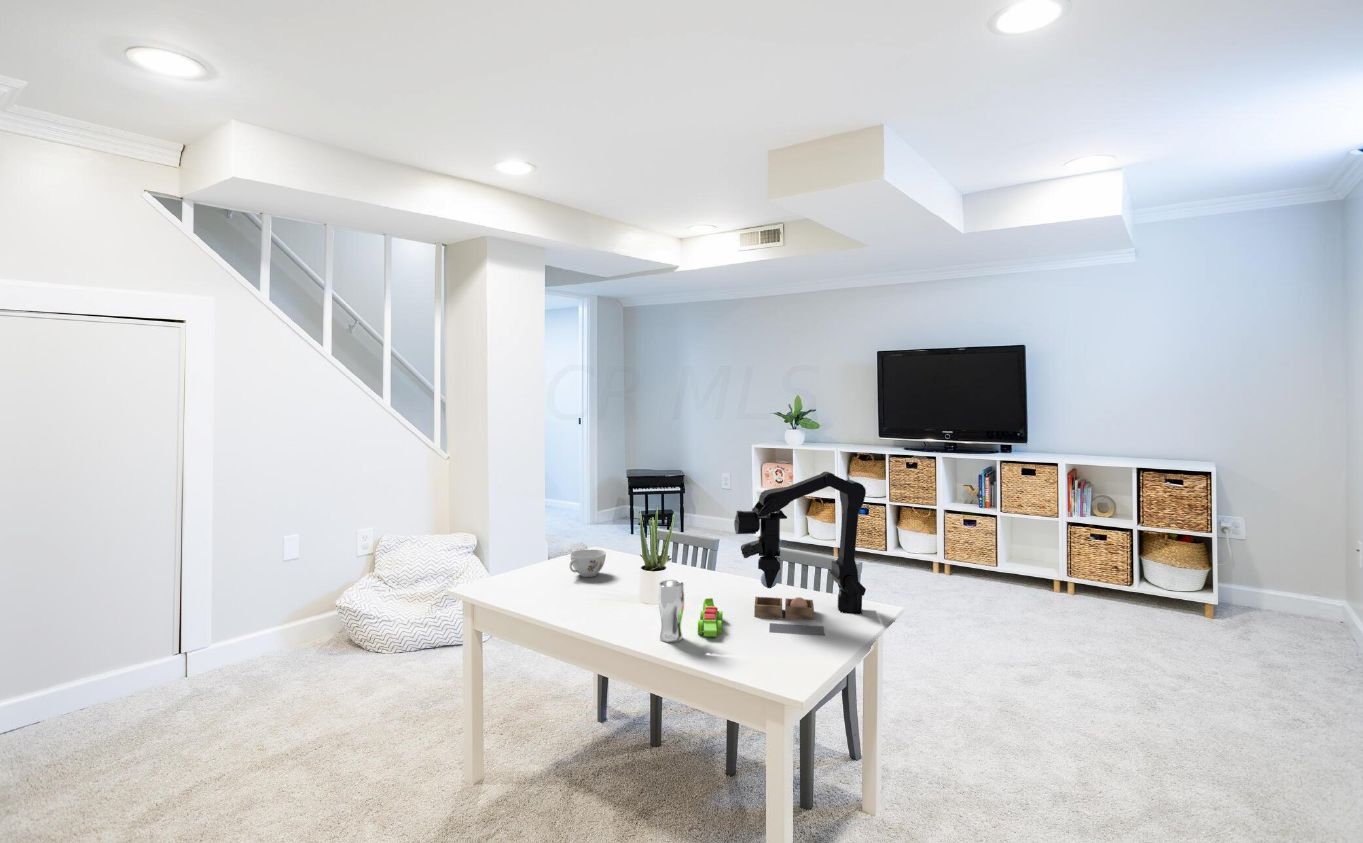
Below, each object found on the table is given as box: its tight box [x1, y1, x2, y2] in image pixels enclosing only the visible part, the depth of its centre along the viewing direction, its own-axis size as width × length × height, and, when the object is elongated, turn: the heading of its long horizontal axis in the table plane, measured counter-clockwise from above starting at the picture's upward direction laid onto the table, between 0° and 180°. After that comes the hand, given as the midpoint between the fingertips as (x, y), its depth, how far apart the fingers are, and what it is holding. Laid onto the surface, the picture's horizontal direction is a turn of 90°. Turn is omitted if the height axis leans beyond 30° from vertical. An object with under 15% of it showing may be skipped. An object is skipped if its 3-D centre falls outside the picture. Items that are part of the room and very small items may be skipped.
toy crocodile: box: [697, 597, 724, 637], centre depth 187 cm, size 20×7×6 cm, turn 175°
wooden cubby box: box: [784, 597, 815, 621], centre depth 197 cm, size 8×8×4 cm
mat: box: [768, 622, 826, 637], centre depth 186 cm, size 15×7×1 cm, turn 82°
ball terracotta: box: [790, 596, 808, 608], centre depth 197 cm, size 5×5×5 cm
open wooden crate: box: [753, 596, 783, 619], centre depth 198 cm, size 8×8×4 cm
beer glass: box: [657, 579, 685, 644], centre depth 179 cm, size 7×7×15 cm
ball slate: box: [760, 572, 778, 589], centre depth 198 cm, size 5×5×5 cm
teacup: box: [569, 549, 607, 578], centre depth 236 cm, size 15×12×8 cm
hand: (769, 585), depth 198 cm, fingers closed on ball slate, 5 cm apart
